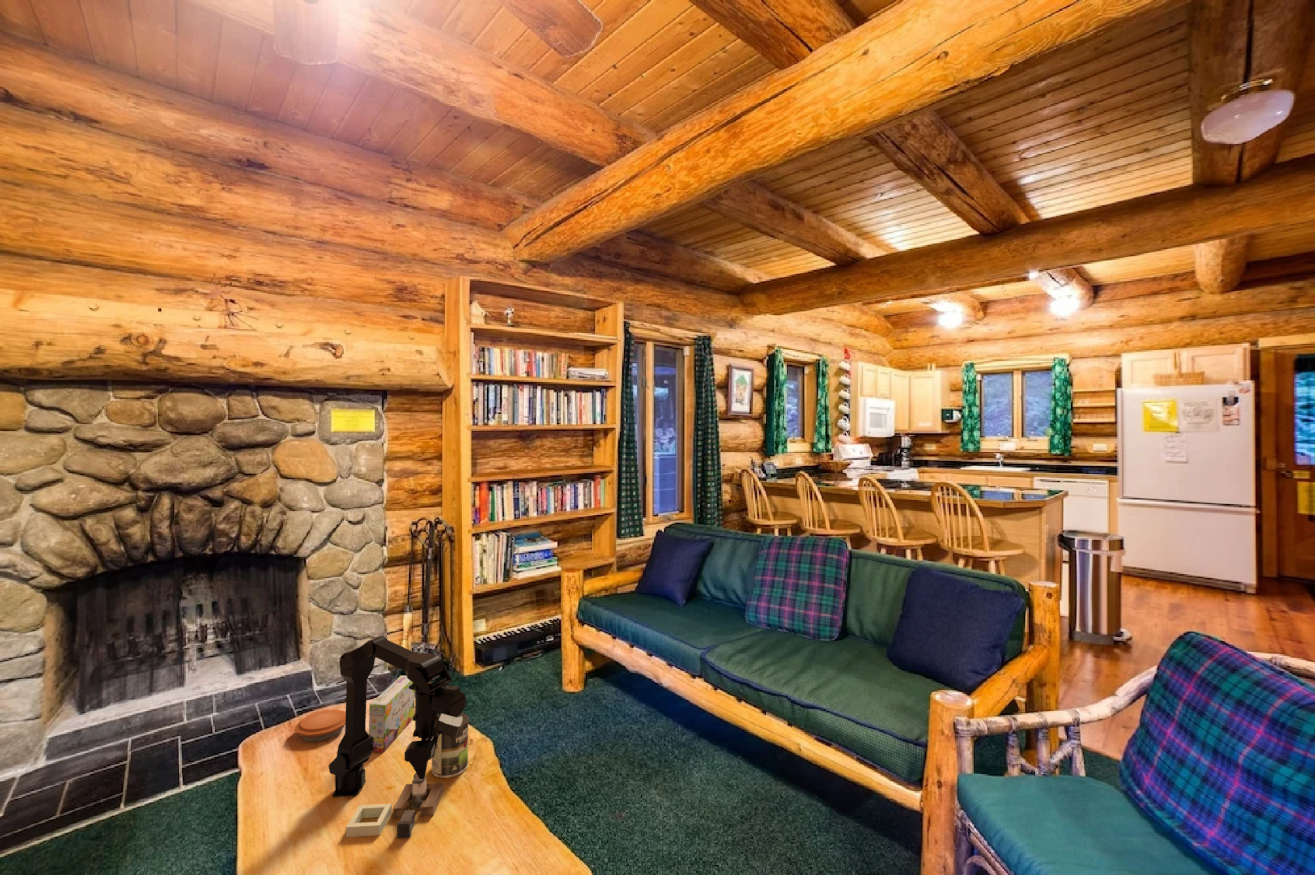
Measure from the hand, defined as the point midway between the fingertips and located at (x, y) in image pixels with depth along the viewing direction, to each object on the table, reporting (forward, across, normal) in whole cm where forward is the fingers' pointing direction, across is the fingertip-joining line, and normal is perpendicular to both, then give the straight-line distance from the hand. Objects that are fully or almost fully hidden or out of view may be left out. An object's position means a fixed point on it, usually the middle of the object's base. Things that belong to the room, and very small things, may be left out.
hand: (427, 767), depth 146 cm
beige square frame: (+13, 0, +14) cm, 19 cm away
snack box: (+13, +43, +21) cm, 50 cm away
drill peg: (+13, +6, +4) cm, 15 cm away
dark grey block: (+13, -4, +4) cm, 14 cm away
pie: (+13, +47, +44) cm, 66 cm away
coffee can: (+14, +22, -1) cm, 26 cm away
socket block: (+13, +6, +4) cm, 15 cm away
